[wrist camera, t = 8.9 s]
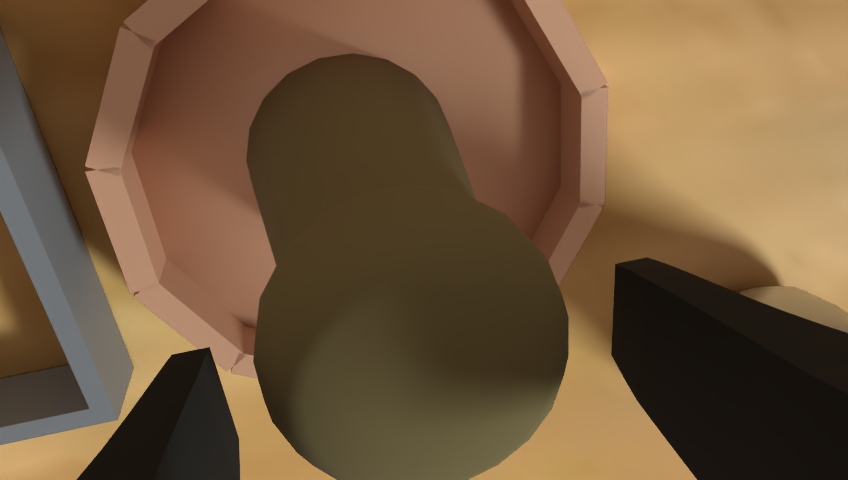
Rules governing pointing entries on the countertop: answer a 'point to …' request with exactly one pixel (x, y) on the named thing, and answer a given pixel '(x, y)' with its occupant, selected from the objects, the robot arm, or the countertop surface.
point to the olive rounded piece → (393, 285)
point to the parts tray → (54, 286)
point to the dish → (262, 70)
